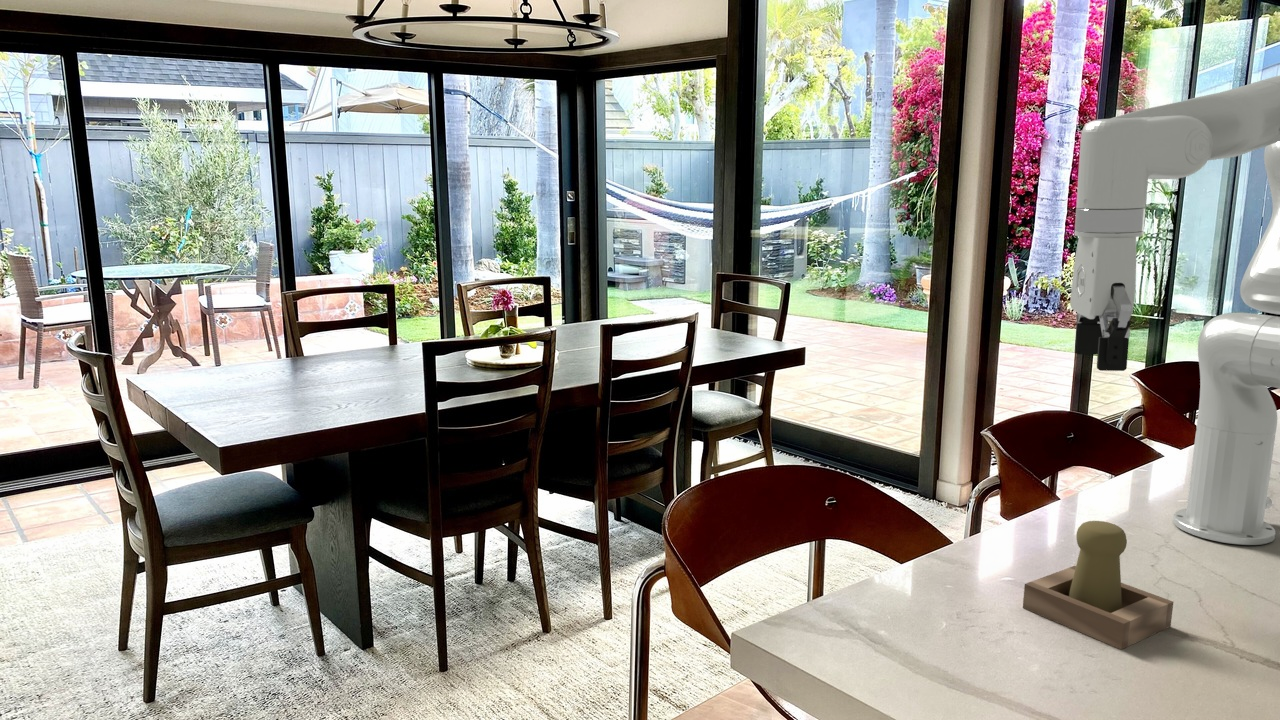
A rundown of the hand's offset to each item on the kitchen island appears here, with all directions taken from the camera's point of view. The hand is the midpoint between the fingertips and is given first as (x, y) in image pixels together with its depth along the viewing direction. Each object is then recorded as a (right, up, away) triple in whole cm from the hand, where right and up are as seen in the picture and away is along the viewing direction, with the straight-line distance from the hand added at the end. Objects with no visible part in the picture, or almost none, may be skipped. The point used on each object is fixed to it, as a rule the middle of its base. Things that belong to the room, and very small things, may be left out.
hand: (1099, 361), depth 117 cm
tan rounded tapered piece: (-4, -30, -8) cm, 31 cm away
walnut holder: (-5, -30, -9) cm, 31 cm away
